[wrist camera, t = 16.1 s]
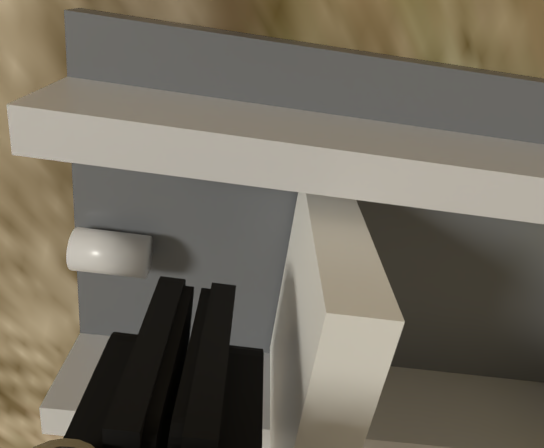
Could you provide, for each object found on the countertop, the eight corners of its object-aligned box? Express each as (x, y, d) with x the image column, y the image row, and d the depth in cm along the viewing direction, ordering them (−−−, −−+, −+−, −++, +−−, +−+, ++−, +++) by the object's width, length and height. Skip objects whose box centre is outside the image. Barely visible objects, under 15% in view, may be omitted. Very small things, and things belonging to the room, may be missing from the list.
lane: (79, 8, 12) (-3, 18, 8) (879, 129, 13) (1104, 183, 10) (92, 368, 17) (46, 469, 14) (662, 427, 19) (755, 532, 15)
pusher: (302, 170, 12) (326, 313, 7) (346, 177, 12) (405, 321, 7) (270, 347, 15) (270, 547, 10) (307, 351, 15) (327, 552, 10)
